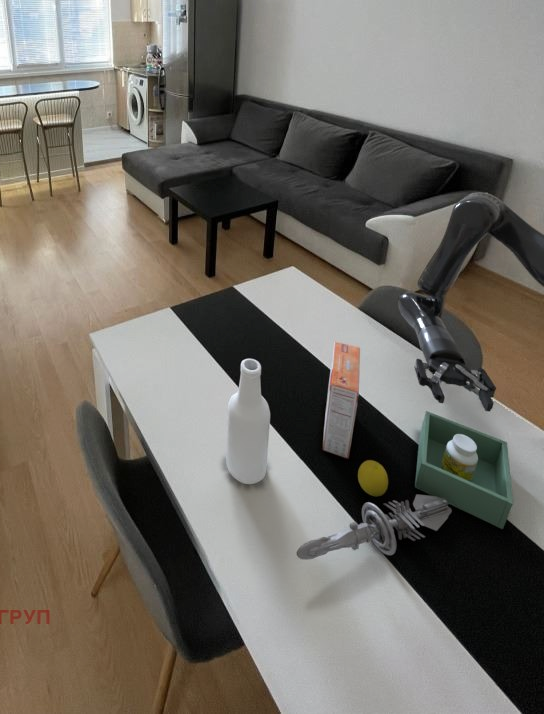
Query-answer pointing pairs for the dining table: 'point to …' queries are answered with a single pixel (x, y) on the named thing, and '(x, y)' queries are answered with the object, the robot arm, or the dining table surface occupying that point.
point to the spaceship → (382, 527)
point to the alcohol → (248, 427)
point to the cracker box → (342, 399)
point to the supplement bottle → (460, 457)
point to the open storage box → (478, 497)
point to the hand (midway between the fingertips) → (465, 404)
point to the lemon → (373, 478)
